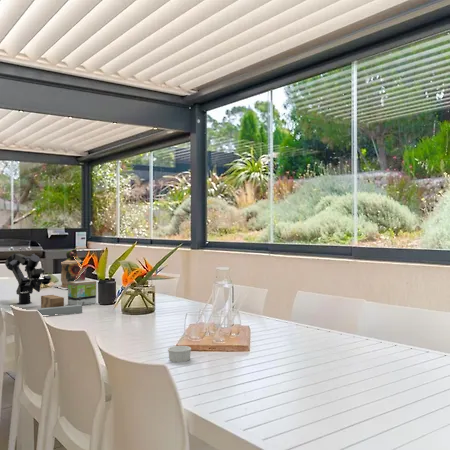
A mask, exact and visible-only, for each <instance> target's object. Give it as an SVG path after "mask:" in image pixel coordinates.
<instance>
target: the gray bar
mask: <svg viewBox="0 0 450 450" xmlns="http://www.w3.org/2000/svg"><path fill="white" fill-rule="evenodd" d="M37 310H38V311H39V312H40V313H41V314H42V315H55V314H66V315H72V314H74V313H76V314H83V305H64V306H61V307H50V308H41V307H40V308H37ZM74 315H75V314H74Z"/></svg>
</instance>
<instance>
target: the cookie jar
mask: <svg viewBox="0 0 450 450" xmlns="http://www.w3.org/2000/svg"><path fill="white" fill-rule="evenodd" d="M65 256H66V259H65V260H64V261H61V262H60V265H61V272H60V281H61V284H54V285H53V287H54V288H57V287H58V288H57V289H60V288H61V289H60V290H64V289H65V290H64V291H66V290H68V282H73V281H74V280H75V279H76V276H77V274H78V272H79V270H80V267H79V266H78V264H77V262H76V260H77V261H78V262H79V263H80V264H82V263H83V262H84V261H83V260H81V258H79V256H78V251H77V248H76V247H75V248H73V249H70V250H67V252H66V254H65ZM73 256H74V257H75V259H76V260H75V259H74V257H73ZM86 272H87V268H86V269H85V271H84V272H83V273H82V274H81V276H80V277H79V278H78V279H77V280H76V281H83V280H86Z"/></svg>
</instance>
